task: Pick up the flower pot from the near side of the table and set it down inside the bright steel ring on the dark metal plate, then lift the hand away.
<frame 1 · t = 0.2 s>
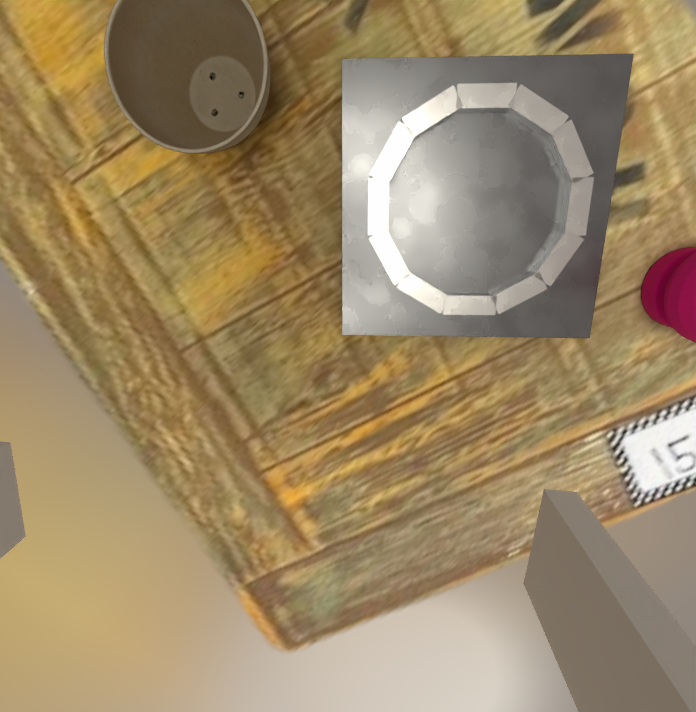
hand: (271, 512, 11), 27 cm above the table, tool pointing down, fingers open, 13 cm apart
ring plate: (471, 208, 34), on the table
pepper mill: (679, 287, 35), on the table
flower pot: (224, 97, 33), on the table
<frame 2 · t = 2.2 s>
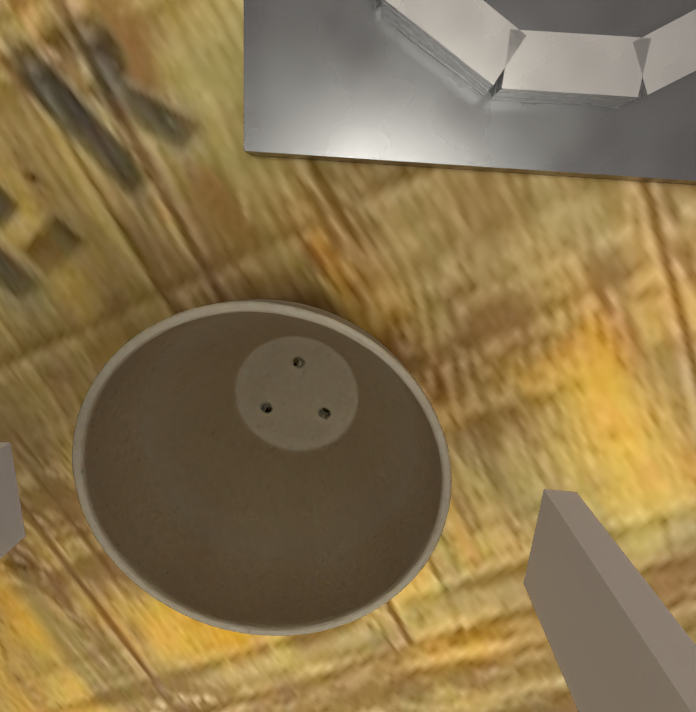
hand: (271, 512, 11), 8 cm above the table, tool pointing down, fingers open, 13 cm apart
flower pot: (298, 391, 19), on the table
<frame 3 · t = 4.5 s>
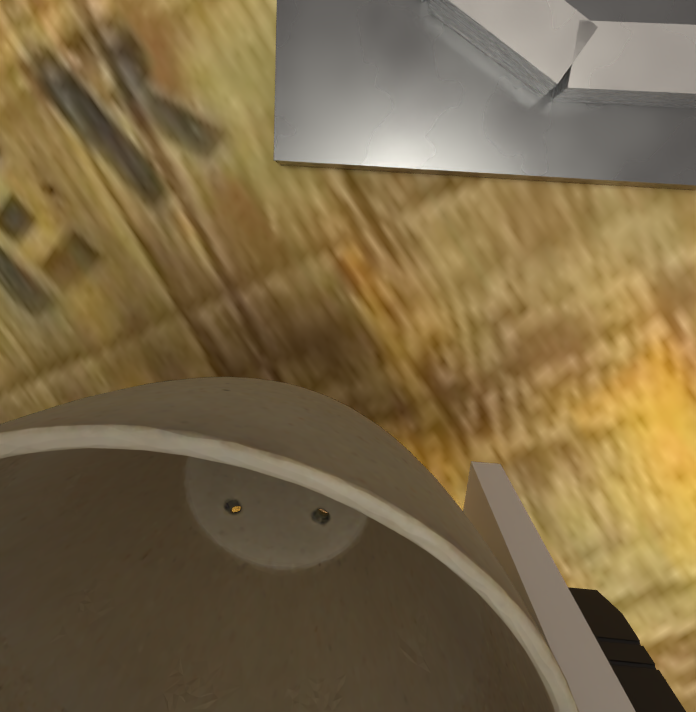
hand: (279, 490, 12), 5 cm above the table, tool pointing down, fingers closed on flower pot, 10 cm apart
flower pot: (283, 479, 12), point 5 cm above the table, touching gripper
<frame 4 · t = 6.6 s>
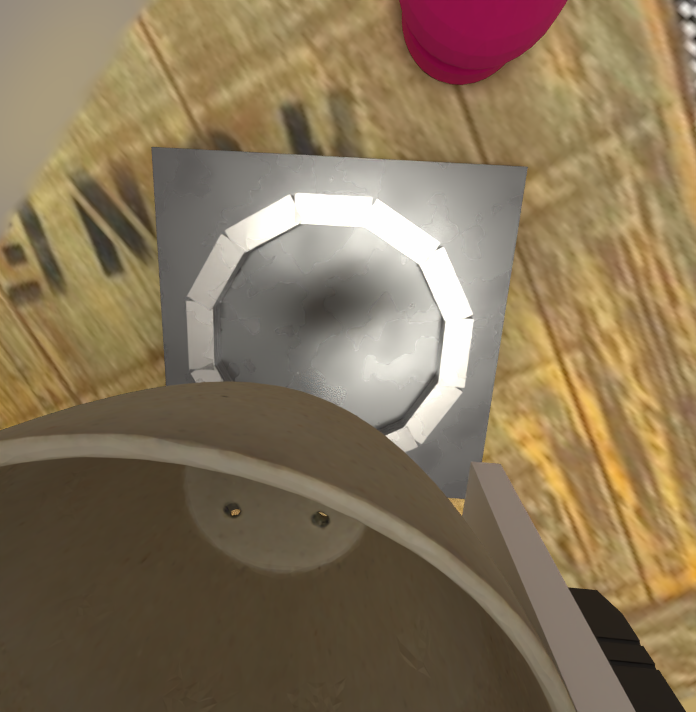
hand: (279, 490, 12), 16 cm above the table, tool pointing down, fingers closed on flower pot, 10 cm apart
ring plate: (330, 335, 27), on the table
pepper mill: (463, 17, 22), on the table
flower pot: (282, 482, 12), point 16 cm above the table, touching gripper
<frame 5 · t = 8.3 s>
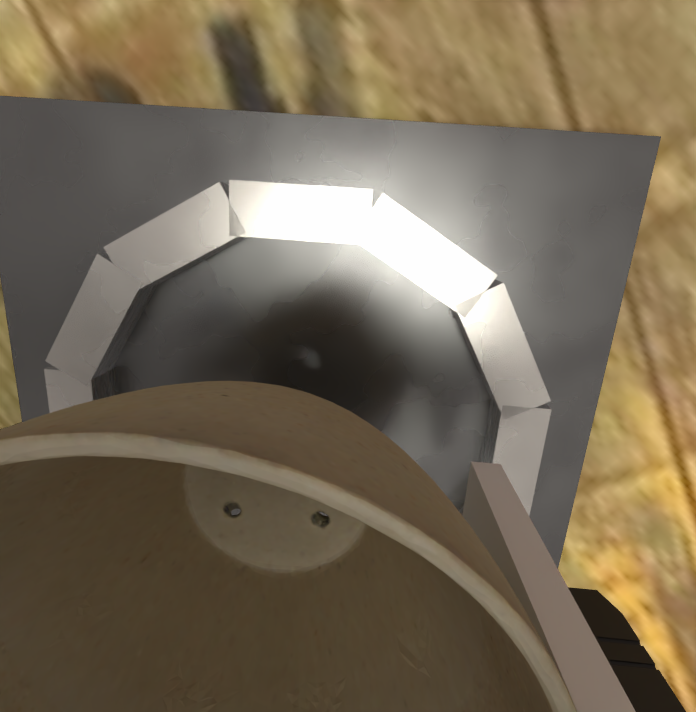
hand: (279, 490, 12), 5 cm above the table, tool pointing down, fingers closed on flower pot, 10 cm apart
ring plate: (301, 418, 16), on the table
flower pot: (282, 481, 12), point 4 cm above the table, touching gripper
when the fingers open (3 cm above the table, at t = 9.2 s): flower pot drops 1 cm, resting on ring plate.
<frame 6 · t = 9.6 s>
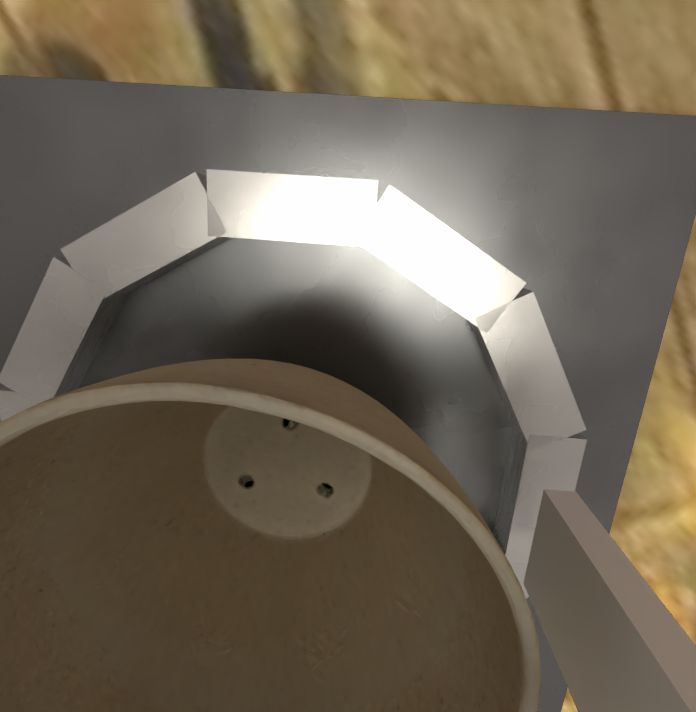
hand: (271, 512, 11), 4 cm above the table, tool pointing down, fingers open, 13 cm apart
ring plate: (296, 443, 15), on the table
flower pot: (291, 457, 14), point 1 cm above the table, touching ring plate
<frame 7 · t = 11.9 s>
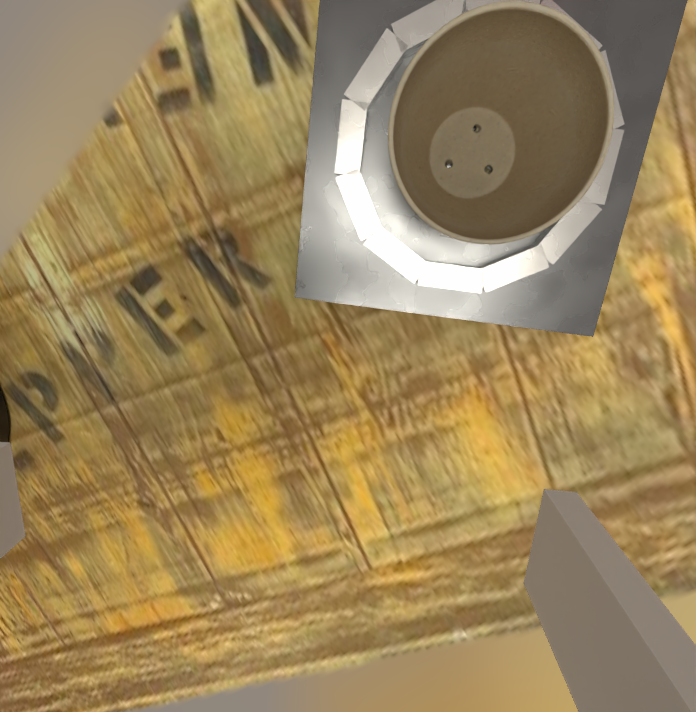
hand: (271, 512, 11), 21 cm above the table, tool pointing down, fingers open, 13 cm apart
ring plate: (467, 158, 28), on the table
flower pot: (469, 157, 27), point 1 cm above the table, touching ring plate
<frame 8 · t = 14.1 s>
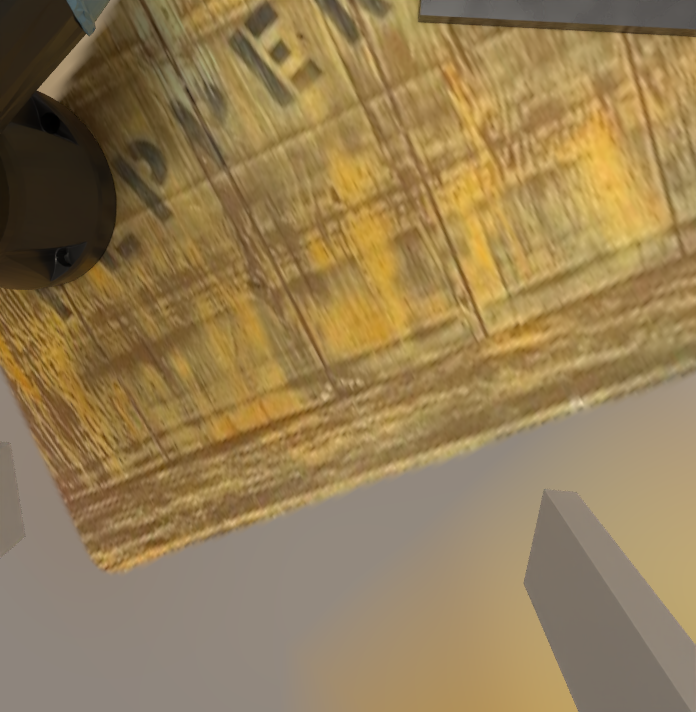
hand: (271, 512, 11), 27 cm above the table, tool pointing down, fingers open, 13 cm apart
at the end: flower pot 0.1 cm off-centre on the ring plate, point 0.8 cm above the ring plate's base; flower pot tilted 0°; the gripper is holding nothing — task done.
